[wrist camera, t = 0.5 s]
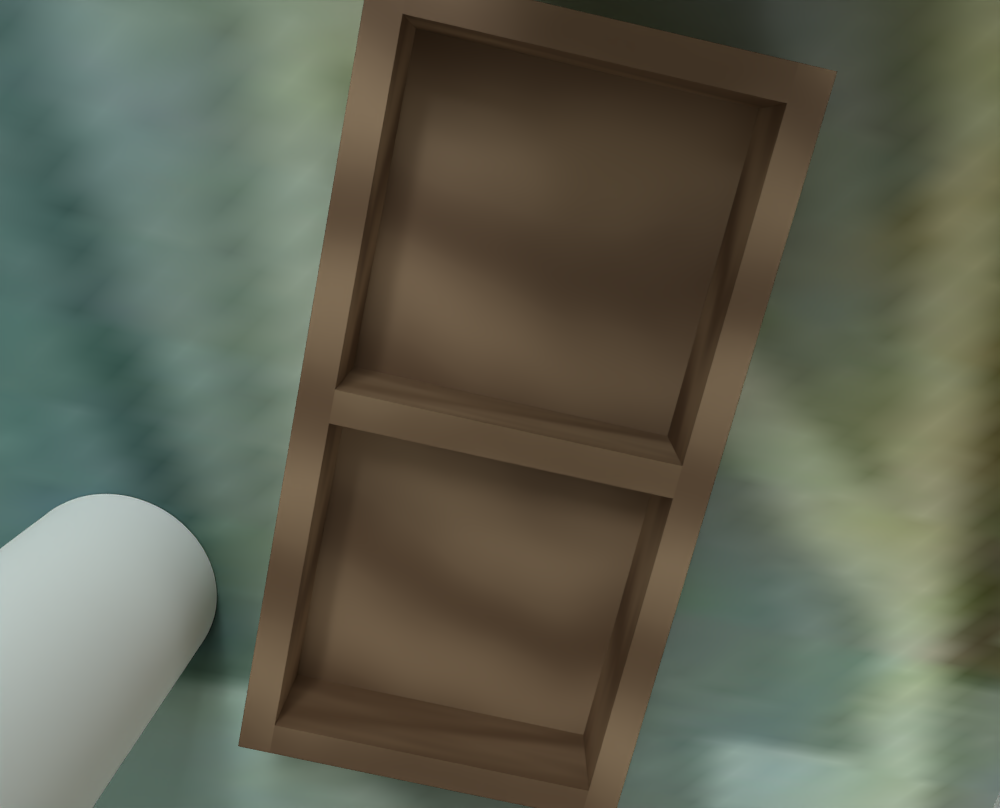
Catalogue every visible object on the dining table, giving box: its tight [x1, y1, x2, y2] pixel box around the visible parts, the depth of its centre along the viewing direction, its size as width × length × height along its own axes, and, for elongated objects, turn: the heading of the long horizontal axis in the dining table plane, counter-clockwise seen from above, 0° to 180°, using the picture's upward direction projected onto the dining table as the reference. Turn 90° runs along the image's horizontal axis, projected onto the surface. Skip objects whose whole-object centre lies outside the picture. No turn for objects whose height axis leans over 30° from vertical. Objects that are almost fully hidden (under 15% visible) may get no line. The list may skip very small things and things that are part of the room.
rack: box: [238, 0, 837, 808], centre depth 34 cm, size 28×14×4 cm, turn 168°
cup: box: [0, 494, 217, 808], centre depth 31 cm, size 8×8×16 cm
